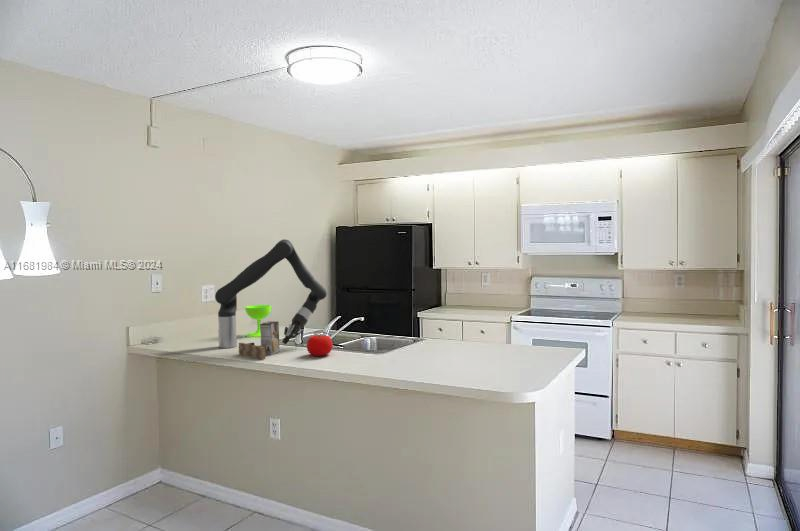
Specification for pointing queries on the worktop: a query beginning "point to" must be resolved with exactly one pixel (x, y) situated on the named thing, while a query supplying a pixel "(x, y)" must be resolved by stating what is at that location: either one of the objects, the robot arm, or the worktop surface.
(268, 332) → the coffee box
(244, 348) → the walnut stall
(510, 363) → the worktop surface
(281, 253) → the robot arm
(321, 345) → the tomato
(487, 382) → the worktop surface
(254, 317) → the wineglass
